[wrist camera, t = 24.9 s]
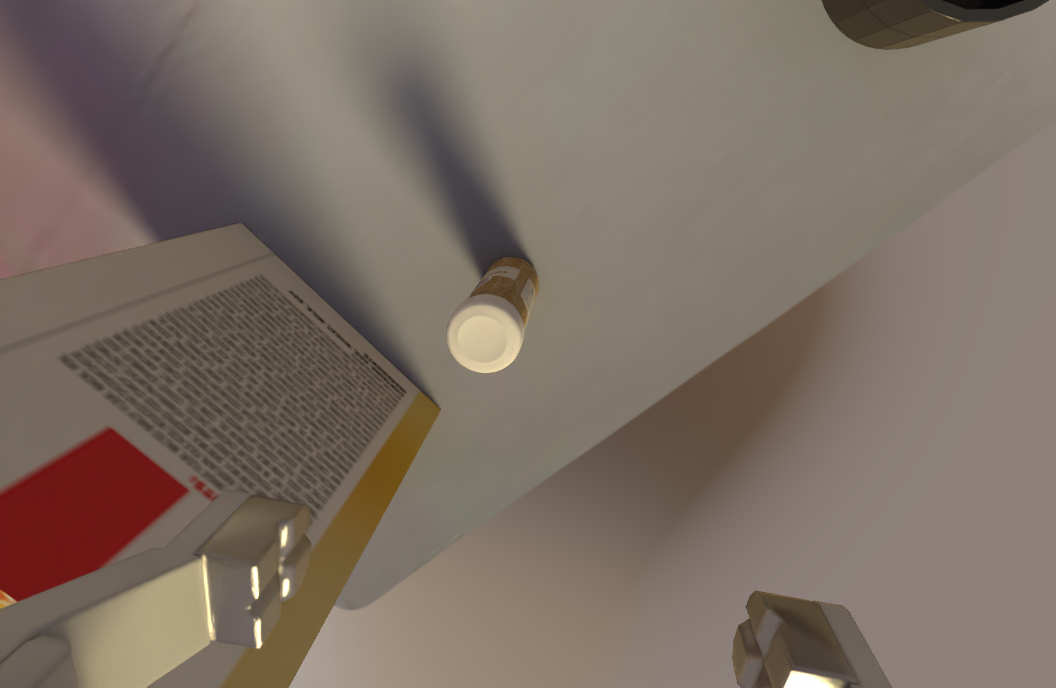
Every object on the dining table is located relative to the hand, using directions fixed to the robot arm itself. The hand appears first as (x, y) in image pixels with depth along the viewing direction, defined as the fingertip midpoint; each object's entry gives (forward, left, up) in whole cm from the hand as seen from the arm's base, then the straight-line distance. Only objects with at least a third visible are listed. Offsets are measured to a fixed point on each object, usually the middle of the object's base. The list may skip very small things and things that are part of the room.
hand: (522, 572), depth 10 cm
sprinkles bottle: (0, -6, -35) cm, 36 cm away
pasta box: (-5, -24, -35) cm, 43 cm away
